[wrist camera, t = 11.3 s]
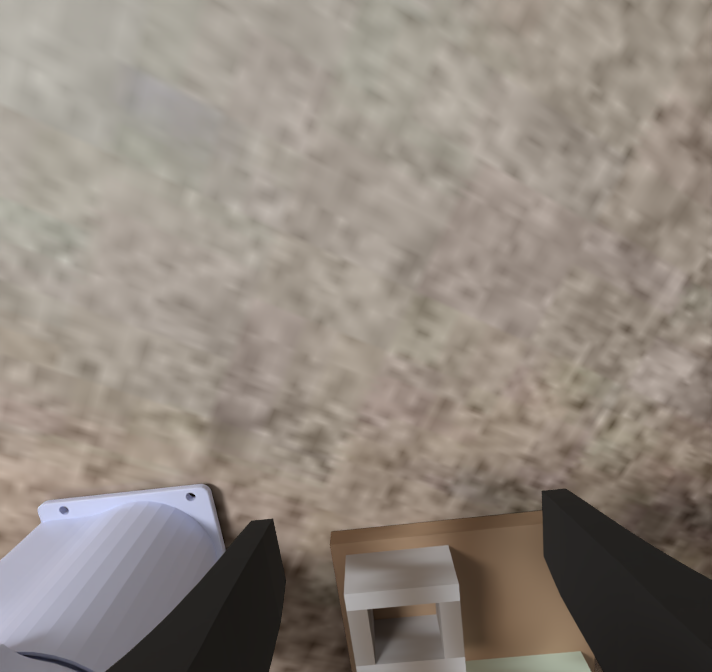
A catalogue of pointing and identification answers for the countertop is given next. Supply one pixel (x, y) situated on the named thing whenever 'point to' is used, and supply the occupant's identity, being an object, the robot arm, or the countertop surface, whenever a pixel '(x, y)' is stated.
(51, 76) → the countertop surface
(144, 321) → the countertop surface
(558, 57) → the countertop surface
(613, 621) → the robot arm
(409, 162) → the countertop surface
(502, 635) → the socket board
